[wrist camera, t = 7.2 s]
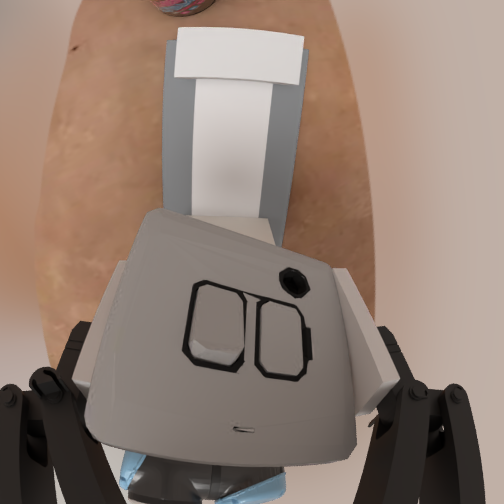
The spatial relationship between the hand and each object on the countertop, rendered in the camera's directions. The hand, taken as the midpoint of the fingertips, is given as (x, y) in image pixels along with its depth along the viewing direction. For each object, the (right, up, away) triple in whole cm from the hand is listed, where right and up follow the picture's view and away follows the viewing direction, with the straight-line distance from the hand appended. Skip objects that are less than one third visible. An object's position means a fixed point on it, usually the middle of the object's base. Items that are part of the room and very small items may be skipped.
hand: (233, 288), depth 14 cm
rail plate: (-1, +12, +14) cm, 18 cm away
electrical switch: (0, 0, +1) cm, 1 cm away
